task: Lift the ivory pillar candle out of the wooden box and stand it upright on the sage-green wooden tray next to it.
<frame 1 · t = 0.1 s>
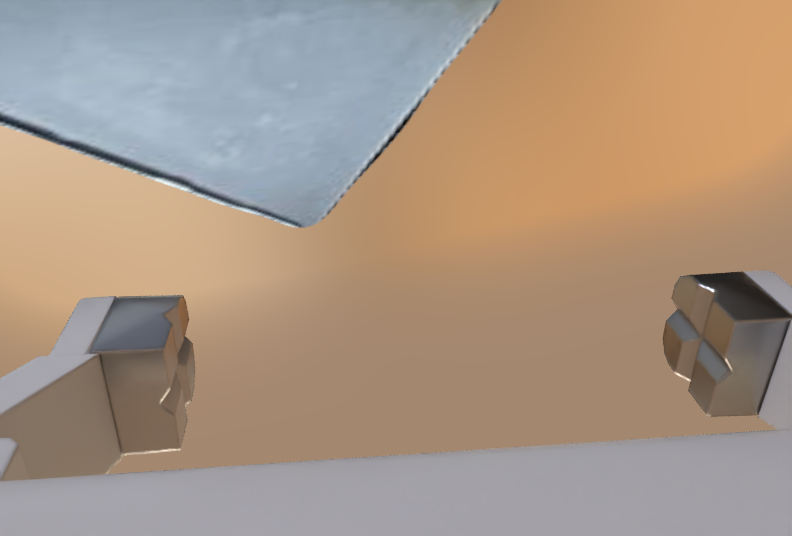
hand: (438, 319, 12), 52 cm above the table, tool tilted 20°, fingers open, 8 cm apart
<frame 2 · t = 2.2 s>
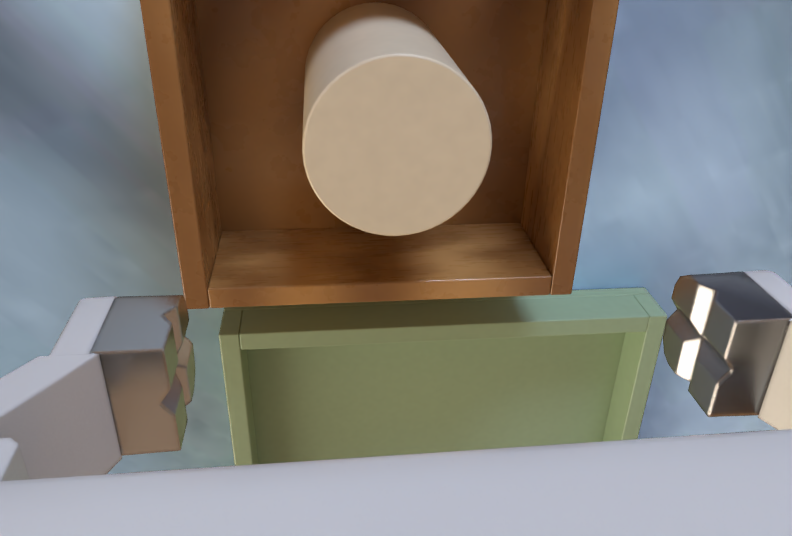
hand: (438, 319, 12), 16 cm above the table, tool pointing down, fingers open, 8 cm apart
candle: (374, 75, 25), point 1 cm above the table, touching wooden box
wooden box: (373, 71, 26), on the table
tray: (434, 414, 34), on the table
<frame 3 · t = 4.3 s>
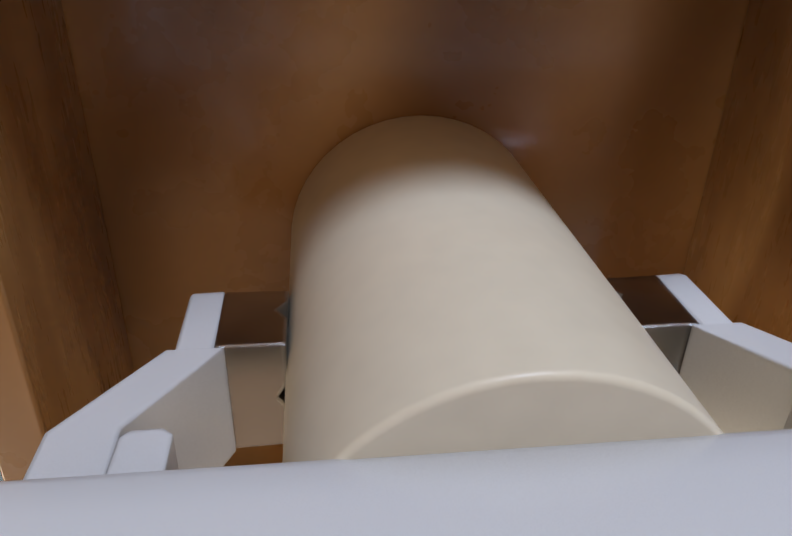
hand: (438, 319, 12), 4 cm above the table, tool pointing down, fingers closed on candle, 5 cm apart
candle: (415, 234, 14), point 1 cm above the table, touching wooden box, gripper
wooden box: (410, 222, 15), on the table
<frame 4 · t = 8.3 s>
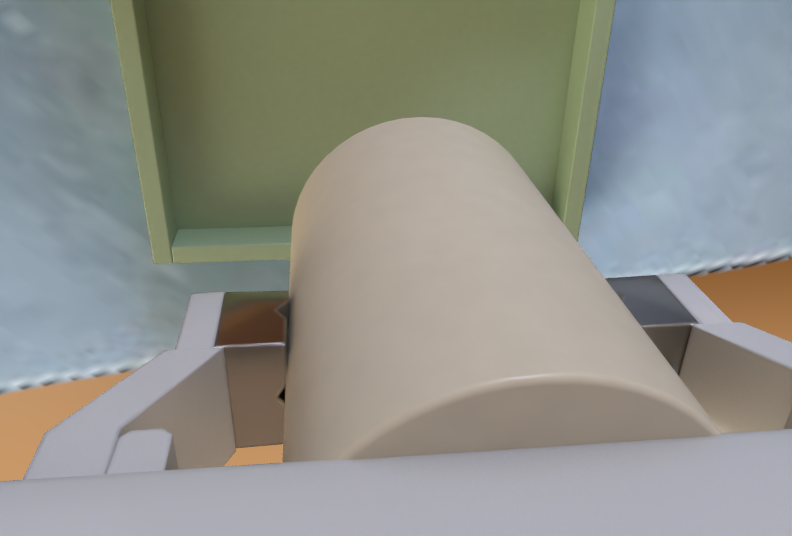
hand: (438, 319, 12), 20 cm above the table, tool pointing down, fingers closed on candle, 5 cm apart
candle: (415, 235, 14), point 17 cm above the table, touching gripper
tray: (367, 87, 30), on the table
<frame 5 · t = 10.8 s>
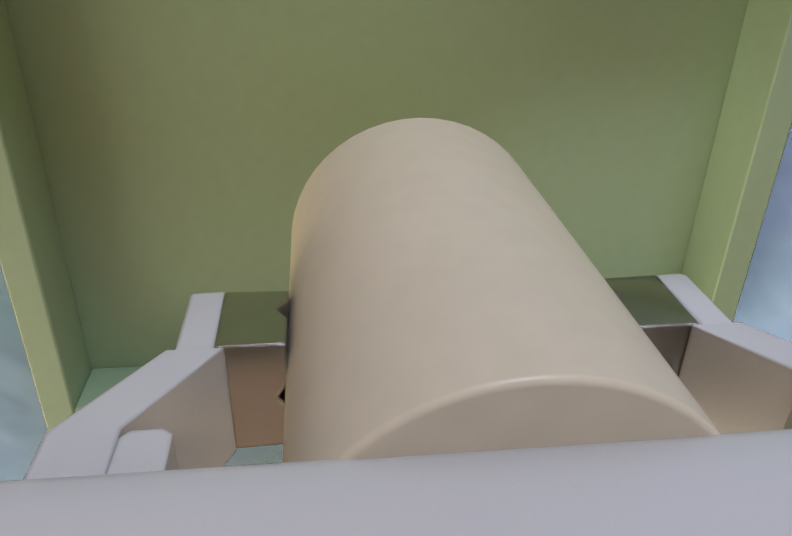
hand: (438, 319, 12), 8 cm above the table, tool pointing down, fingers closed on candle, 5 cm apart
candle: (415, 236, 14), point 5 cm above the table, touching gripper
tray: (391, 152, 18), on the table
when the fingers open (4 cm above the table, at t = 12.3 s): candle stays where it is, resting on tray.
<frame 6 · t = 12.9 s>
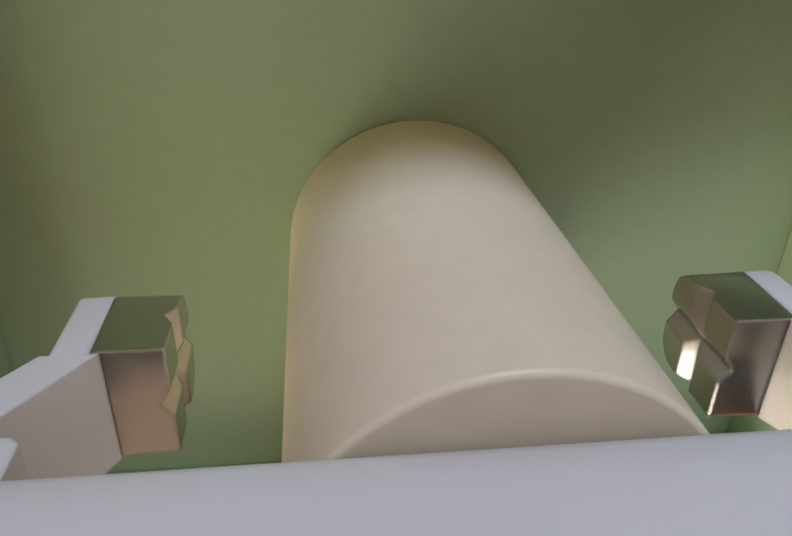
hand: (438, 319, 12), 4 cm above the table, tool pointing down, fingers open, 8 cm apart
candle: (411, 236, 15), point 1 cm above the table, touching tray
tray: (406, 221, 15), on the table
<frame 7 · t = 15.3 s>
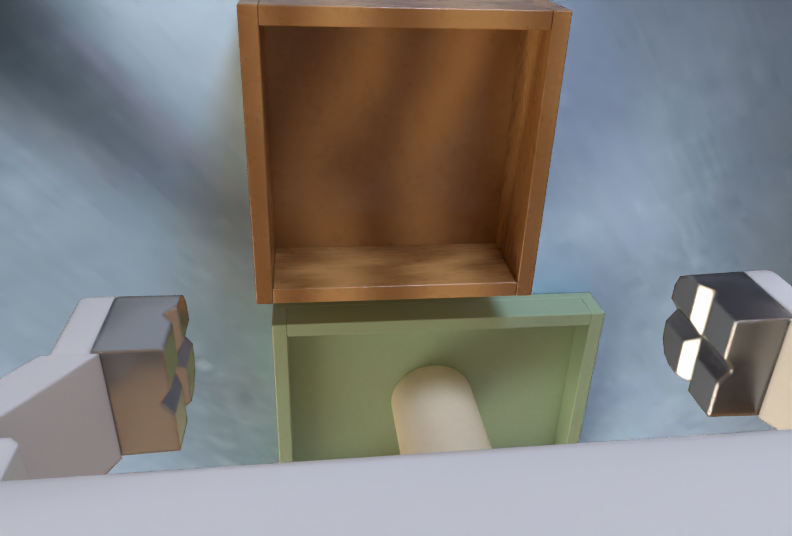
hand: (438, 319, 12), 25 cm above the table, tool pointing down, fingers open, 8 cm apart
candle: (431, 397, 43), point 1 cm above the table, touching tray
wooden box: (389, 133, 36), on the table
tray: (429, 390, 44), on the table
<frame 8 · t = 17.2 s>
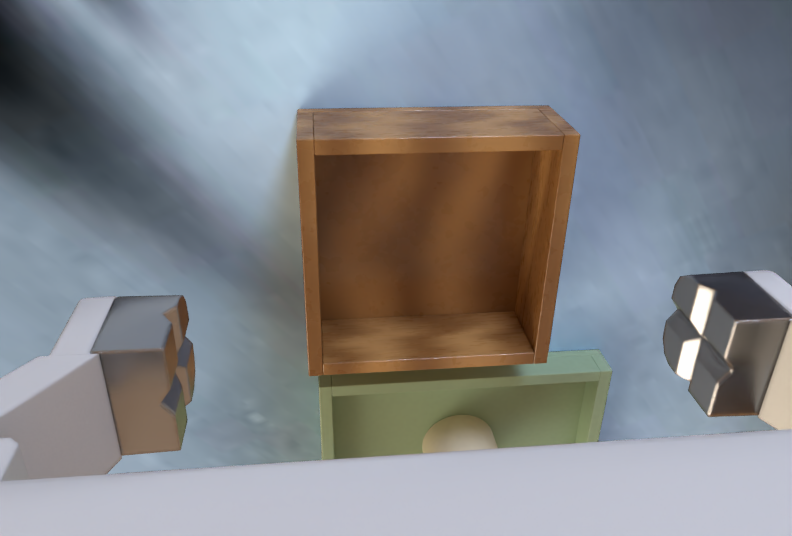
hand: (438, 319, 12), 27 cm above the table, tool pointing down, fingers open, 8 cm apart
candle: (457, 442, 49), point 1 cm above the table, touching tray
wooden box: (421, 222, 41), on the table
tray: (455, 435, 49), on the table
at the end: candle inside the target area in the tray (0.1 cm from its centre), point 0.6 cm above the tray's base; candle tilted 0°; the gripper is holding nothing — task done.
